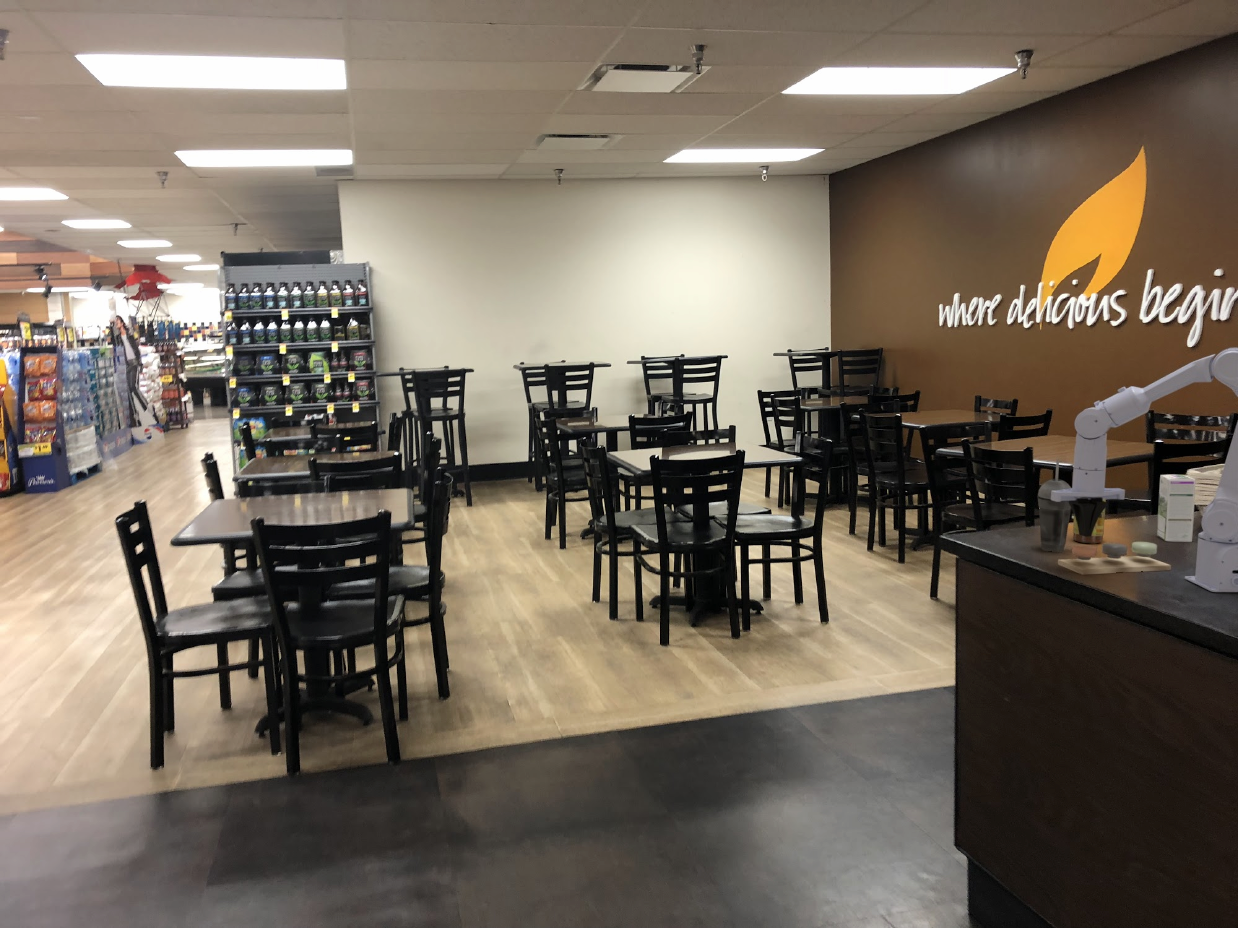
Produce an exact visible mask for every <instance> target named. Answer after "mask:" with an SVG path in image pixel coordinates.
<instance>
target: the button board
mask: <svg viewBox="0 0 1238 928" xmlns="http://www.w3.org/2000/svg"><path fill="white" fill-rule="evenodd" d="M1057 565H1058V566H1060V567H1063V568H1065V569H1068V570H1070V571H1072V572H1075V573H1077V574H1080V575H1082V576H1083V575H1098V574H1101V575H1102V574H1117V573H1116V572H1123V573H1141V571H1143V572H1157V571H1158V572H1159V571H1160V572H1161V571H1171V569H1172V568H1171V567H1172V565H1171V564H1168V563H1166V562H1162V561H1160V560H1157V559H1154V558H1151V557H1140V556H1137V555H1130V556H1128V555H1125V556H1121V558H1119V559H1115V558H1109V557H1107V556H1106V557H1091V559H1090V560H1081V559H1078V558H1067V559H1066V558H1065V559H1058V560H1057Z"/></svg>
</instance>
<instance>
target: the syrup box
mask: <svg viewBox="0 0 1238 928" xmlns="http://www.w3.org/2000/svg"><path fill="white" fill-rule="evenodd" d="M1196 482H1197V481H1196V478H1193V477H1191V476H1188V475H1186V474H1175V473H1174V474H1160V477H1159V490H1158V491H1159V492H1158V506H1157V507H1158V509H1157V510H1158V511H1157V525H1156V526H1157V527H1156V536H1157V537H1159V538H1160V539H1162V540H1163V541H1165V542H1172V543H1173V542H1174V543H1192V541H1193V531H1194V514H1195V512H1194V511H1195V497H1196V496H1195V495H1196Z"/></svg>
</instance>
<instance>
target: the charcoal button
mask: <svg viewBox="0 0 1238 928" xmlns="http://www.w3.org/2000/svg"><path fill="white" fill-rule="evenodd" d="M1101 553H1102V554H1104V555H1106V557H1109V558H1115V559H1119V558H1121V557H1125V556H1128V555H1127V554H1128V546H1127V545H1126V544H1123V543H1114V542H1104V543H1102V548H1101Z"/></svg>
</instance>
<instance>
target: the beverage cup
mask: <svg viewBox="0 0 1238 928" xmlns="http://www.w3.org/2000/svg"><path fill="white" fill-rule="evenodd" d="M1059 468H1060V458H1056V462H1055V477H1054V478H1053V479H1049V480H1047V481H1045V482H1043V483H1042V484H1041V486H1040V488H1039V489H1038V493H1037V502H1038V504H1037V505H1038V507H1039V532H1040V545H1041V547H1040V548H1041V550H1042V551H1044V550H1045V551H1044V552H1048V551H1052V552H1051V553H1063V552H1065V546H1066V543H1067V536H1068V529H1069V524H1070V523H1069V521H1070V517H1071V510H1072V508H1071V506H1070V505H1069V501H1061V502H1056V501H1053V500H1051V491H1054V490H1064V489H1071V488H1072V487H1071V486H1070V484H1069V483H1067V482H1066V481H1065V480H1062V479H1059ZM1062 551H1063V552H1062Z"/></svg>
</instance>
